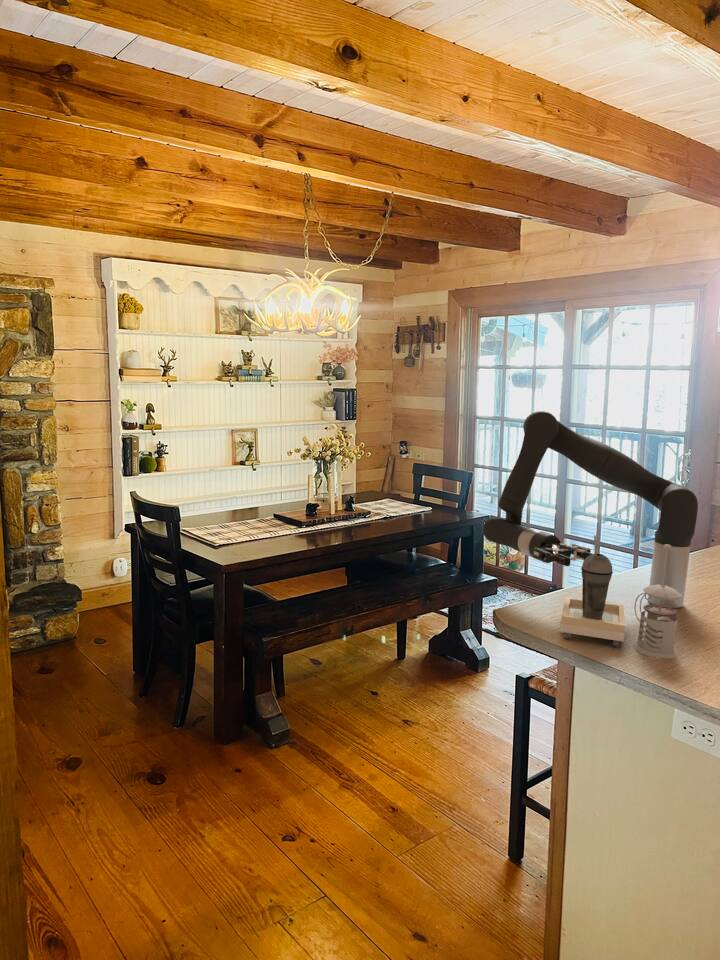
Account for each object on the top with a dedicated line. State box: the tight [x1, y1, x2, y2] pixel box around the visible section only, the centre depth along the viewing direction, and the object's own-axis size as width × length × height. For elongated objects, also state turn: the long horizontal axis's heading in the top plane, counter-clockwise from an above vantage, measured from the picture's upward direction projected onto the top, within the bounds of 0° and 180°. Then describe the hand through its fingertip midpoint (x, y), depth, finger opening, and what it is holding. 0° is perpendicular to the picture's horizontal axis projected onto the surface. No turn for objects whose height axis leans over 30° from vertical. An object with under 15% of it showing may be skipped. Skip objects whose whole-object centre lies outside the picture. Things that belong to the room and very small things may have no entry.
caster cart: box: [559, 596, 626, 648], centre depth 171 cm, size 16×14×6 cm
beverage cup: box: [580, 535, 614, 620], centre depth 170 cm, size 7×7×20 cm
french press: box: [632, 544, 682, 659], centre depth 162 cm, size 10×12×25 cm
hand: (582, 561), depth 174 cm, fingers open, 8 cm apart
